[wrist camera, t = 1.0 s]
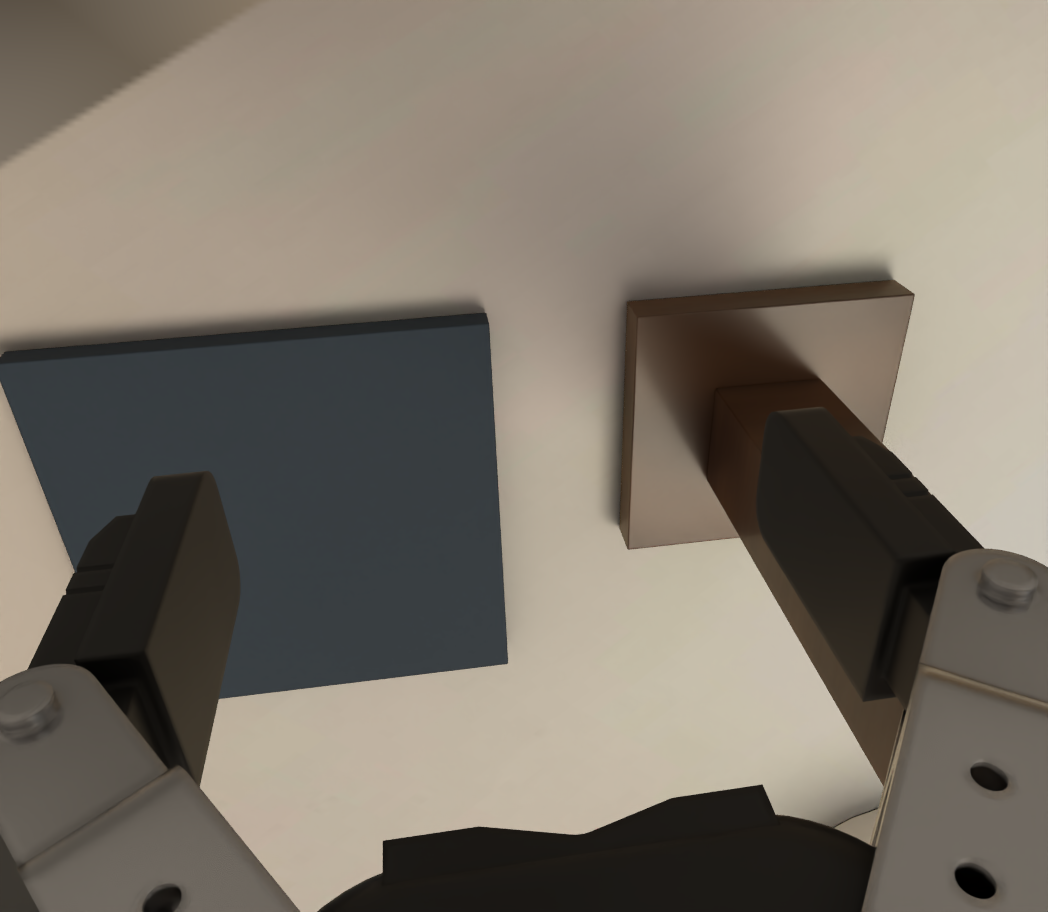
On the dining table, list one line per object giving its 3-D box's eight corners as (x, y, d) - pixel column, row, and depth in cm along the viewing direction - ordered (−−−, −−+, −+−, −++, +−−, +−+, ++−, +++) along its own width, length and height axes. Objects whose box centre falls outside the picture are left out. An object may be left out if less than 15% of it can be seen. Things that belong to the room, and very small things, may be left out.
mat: (4, 350, 28) (-8, 364, 28) (486, 312, 30) (489, 323, 29) (134, 692, 37) (128, 710, 36) (505, 648, 38) (508, 664, 38)
